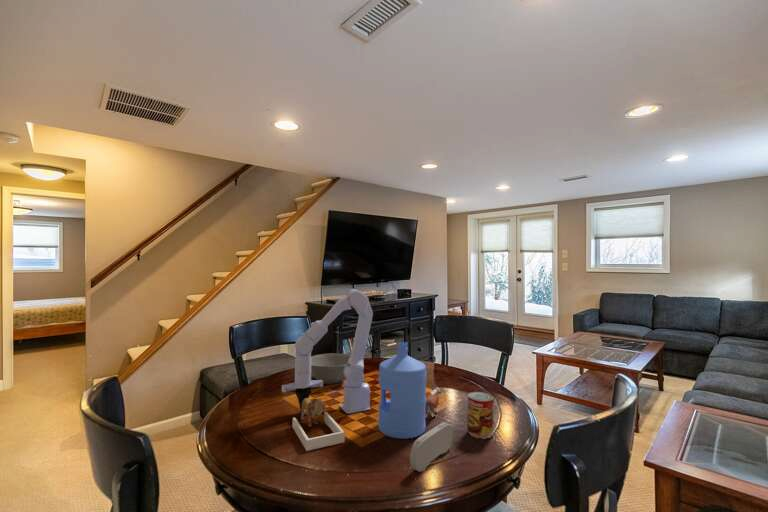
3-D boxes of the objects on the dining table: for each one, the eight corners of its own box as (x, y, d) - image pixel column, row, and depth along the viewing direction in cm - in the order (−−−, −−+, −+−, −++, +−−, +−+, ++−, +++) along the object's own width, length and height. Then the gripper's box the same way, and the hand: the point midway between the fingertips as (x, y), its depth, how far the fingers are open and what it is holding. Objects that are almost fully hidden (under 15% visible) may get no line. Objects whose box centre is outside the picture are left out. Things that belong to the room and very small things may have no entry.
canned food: (462, 430, 118) (463, 393, 118) (482, 426, 121) (482, 390, 121) (477, 441, 111) (477, 402, 111) (498, 437, 114) (498, 398, 114)
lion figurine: (328, 426, 119) (328, 398, 119) (314, 430, 116) (314, 402, 116) (305, 412, 130) (305, 387, 130) (291, 416, 126) (292, 390, 127)
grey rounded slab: (446, 445, 108) (446, 417, 108) (453, 448, 107) (453, 419, 107) (408, 474, 93) (408, 441, 93) (415, 477, 92) (416, 444, 92)
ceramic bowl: (294, 382, 162) (295, 360, 162) (330, 370, 180) (330, 350, 181) (331, 393, 149) (331, 369, 149) (365, 379, 168) (365, 358, 168)
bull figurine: (443, 408, 135) (443, 386, 136) (433, 422, 123) (433, 398, 123) (432, 406, 137) (432, 385, 137) (420, 420, 125) (421, 396, 125)
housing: (326, 420, 124) (326, 411, 124) (344, 442, 109) (344, 432, 109) (292, 427, 118) (292, 417, 118) (306, 451, 103) (306, 440, 103)
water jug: (427, 421, 124) (429, 339, 125) (422, 443, 109) (423, 350, 110) (383, 416, 128) (385, 337, 128) (372, 436, 112) (374, 346, 113)
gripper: (319, 365, 136) (318, 401, 136) (280, 370, 130) (279, 408, 129) (325, 370, 130) (324, 408, 130) (284, 375, 123) (283, 415, 123)
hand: (302, 409), depth 129 cm, fingers closed
